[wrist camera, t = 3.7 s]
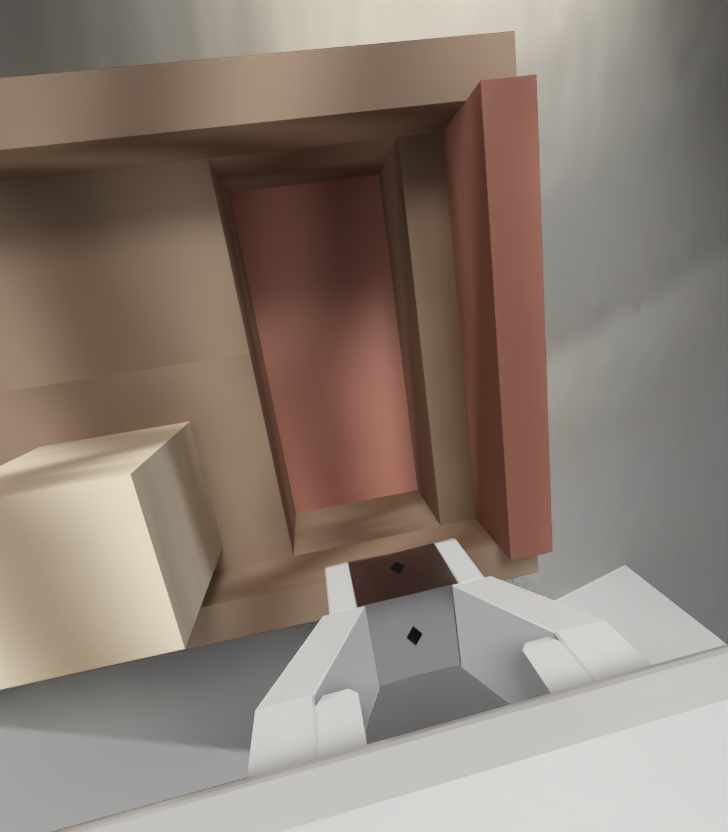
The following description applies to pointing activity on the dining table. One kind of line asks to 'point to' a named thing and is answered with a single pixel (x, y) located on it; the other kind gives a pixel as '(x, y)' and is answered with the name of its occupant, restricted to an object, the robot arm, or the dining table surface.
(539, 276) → the tray
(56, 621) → the ash block
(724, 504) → the dining table surface
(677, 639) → the white cube
